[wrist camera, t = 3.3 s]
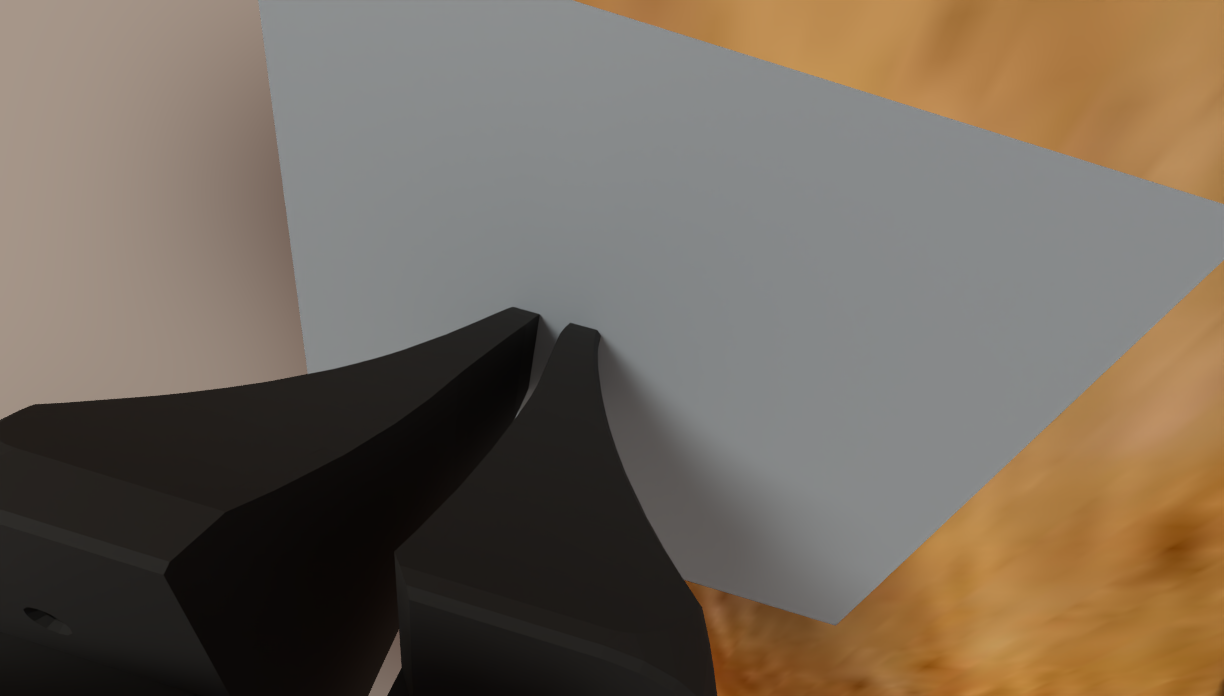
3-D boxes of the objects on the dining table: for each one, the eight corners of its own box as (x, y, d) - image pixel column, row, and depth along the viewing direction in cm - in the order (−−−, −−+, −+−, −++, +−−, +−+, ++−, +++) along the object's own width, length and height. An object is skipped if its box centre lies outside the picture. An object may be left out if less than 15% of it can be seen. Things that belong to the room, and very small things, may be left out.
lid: (1227, 209, 7) (1268, 218, 7) (830, 605, 14) (835, 625, 13) (276, -90, 7) (244, -103, 7) (334, 455, 14) (320, 470, 13)
